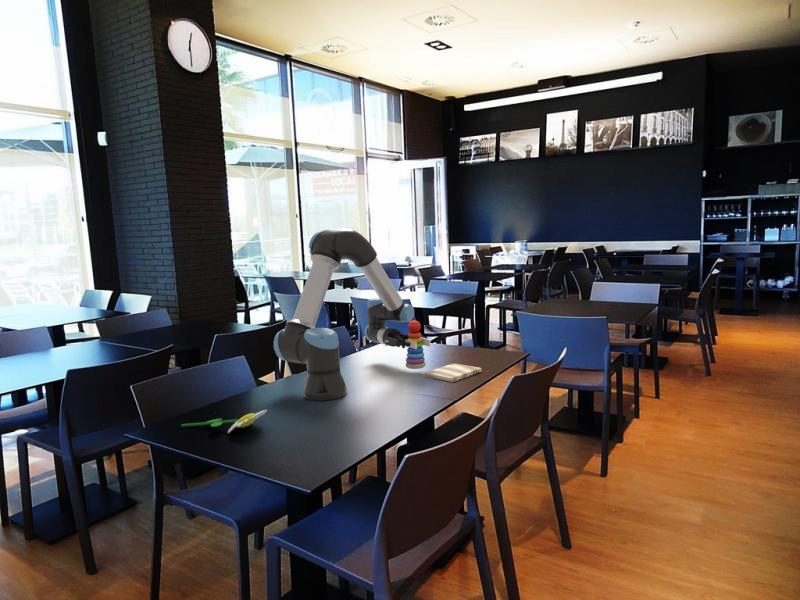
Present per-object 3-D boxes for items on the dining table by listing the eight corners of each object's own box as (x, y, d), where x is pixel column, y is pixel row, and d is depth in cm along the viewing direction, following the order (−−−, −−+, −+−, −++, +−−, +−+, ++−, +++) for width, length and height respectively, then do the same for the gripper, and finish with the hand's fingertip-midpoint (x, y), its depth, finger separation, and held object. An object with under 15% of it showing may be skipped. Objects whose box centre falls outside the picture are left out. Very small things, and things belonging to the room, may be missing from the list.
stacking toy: (426, 369, 216) (423, 321, 213) (405, 370, 216) (403, 322, 213) (425, 364, 223) (423, 318, 221) (405, 365, 224) (403, 319, 221)
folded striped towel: (452, 382, 205) (451, 378, 204) (424, 376, 214) (424, 372, 214) (481, 371, 217) (481, 368, 217) (453, 366, 227) (453, 363, 227)
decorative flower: (169, 441, 166) (254, 434, 156) (166, 425, 166) (251, 417, 156) (197, 428, 178) (277, 421, 168) (194, 413, 178) (275, 405, 168)
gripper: (408, 342, 239) (442, 349, 220) (371, 348, 228) (403, 357, 209) (407, 325, 238) (441, 331, 219) (370, 330, 227) (402, 338, 209)
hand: (422, 344), depth 214 cm, fingers closed on stacking toy, 6 cm apart
